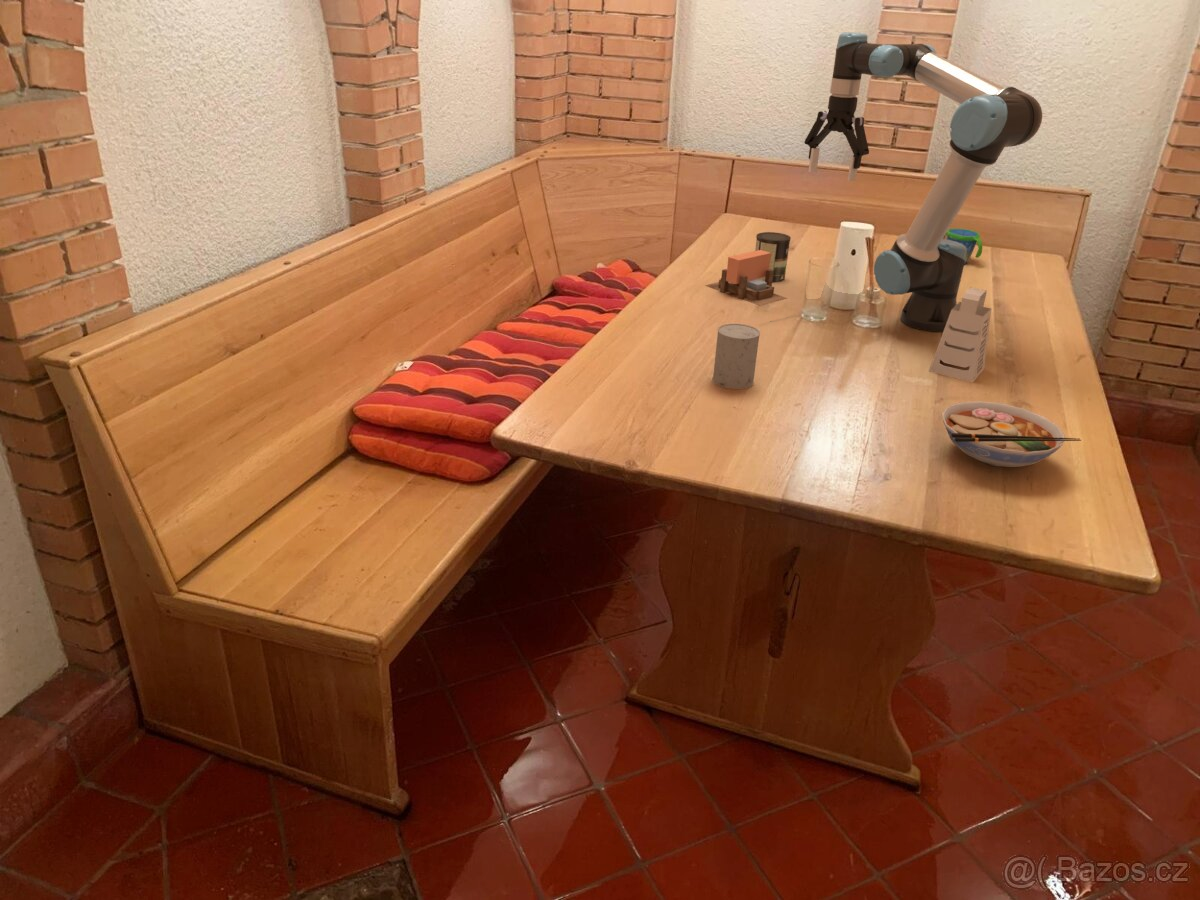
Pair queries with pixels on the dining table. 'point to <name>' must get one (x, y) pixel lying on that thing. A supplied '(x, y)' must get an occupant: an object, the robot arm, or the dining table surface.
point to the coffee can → (775, 252)
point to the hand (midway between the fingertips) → (831, 176)
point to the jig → (748, 289)
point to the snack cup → (966, 240)
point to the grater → (964, 338)
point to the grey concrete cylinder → (736, 356)
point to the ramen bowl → (1002, 433)
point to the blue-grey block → (756, 285)
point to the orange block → (748, 266)
